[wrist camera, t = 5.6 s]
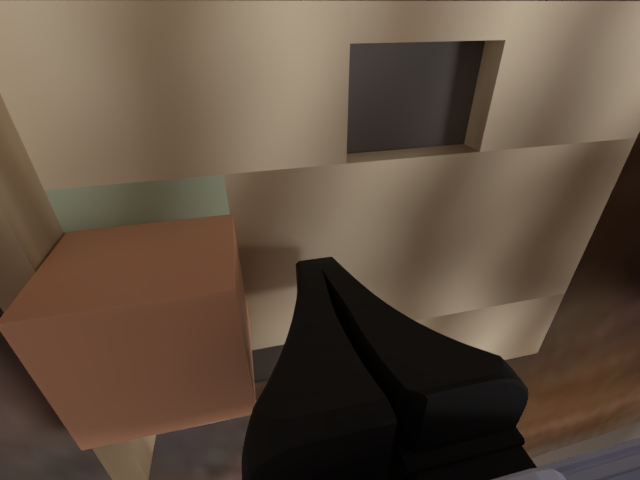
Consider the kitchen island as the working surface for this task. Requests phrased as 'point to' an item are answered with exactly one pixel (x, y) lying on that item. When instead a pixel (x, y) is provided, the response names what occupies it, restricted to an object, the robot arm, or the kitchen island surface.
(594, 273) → the kitchen island surface
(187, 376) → the rust block
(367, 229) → the box
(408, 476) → the robot arm
